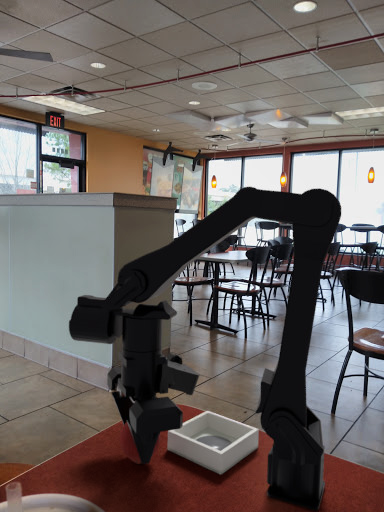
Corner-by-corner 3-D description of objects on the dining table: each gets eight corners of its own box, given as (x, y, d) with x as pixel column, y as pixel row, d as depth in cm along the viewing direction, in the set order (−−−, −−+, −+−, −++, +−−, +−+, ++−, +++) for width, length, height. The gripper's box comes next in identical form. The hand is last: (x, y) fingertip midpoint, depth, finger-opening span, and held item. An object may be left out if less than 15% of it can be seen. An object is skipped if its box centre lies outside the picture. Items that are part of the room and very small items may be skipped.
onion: (162, 454, 64) (163, 403, 64) (155, 476, 58) (156, 419, 58) (124, 451, 65) (125, 400, 64) (114, 472, 59) (115, 416, 58)
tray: (257, 447, 67) (258, 429, 67) (221, 474, 59) (221, 454, 59) (206, 427, 73) (207, 410, 73) (167, 449, 66) (167, 430, 65)
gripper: (221, 360, 55) (217, 476, 56) (172, 329, 72) (169, 417, 73) (138, 369, 51) (135, 494, 52) (107, 333, 68) (105, 427, 69)
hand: (139, 452), depth 61 cm, fingers closed on onion, 6 cm apart
